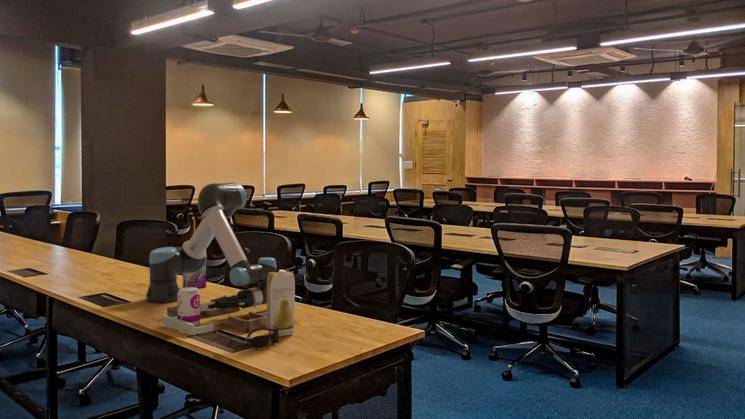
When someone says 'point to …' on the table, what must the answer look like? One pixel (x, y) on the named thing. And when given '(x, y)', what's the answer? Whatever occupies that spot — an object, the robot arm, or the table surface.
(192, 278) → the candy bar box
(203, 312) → the brown shallow tray
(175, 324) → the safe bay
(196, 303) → the supplement can
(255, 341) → the sunglasses
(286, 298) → the juice carton
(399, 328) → the table surface
